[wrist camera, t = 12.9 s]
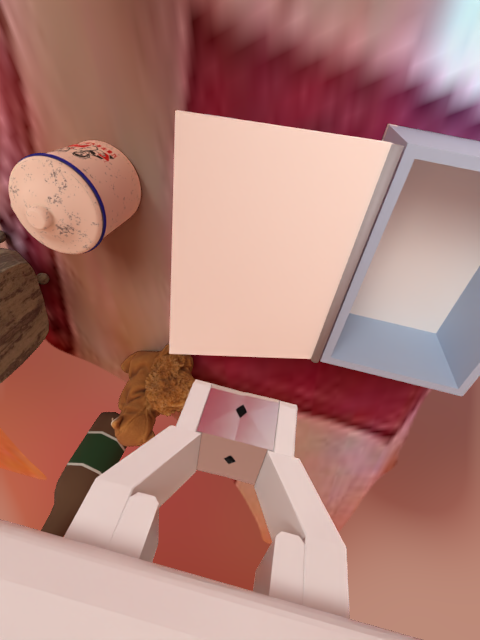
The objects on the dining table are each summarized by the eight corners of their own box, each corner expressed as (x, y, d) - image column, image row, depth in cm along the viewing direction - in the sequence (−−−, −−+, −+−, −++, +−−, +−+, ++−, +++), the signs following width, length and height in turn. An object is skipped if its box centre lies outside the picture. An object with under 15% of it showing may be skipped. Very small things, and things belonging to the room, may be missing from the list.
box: (437, 336, 41) (462, 396, 34) (321, 308, 42) (320, 361, 35) (555, 155, 29) (635, 187, 21) (387, 123, 30) (407, 143, 22)
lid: (168, 357, 32) (169, 347, 33) (319, 362, 34) (316, 353, 35) (174, 113, 20) (175, 109, 21) (406, 147, 22) (397, 142, 23)
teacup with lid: (127, 130, 35) (55, 153, 25) (155, 219, 40) (103, 265, 30) (30, 147, 38) (-66, 174, 28) (67, 228, 43) (-5, 273, 34)
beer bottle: (137, 440, 68) (63, 584, 49) (100, 430, 69) (13, 569, 50) (134, 416, 64) (53, 565, 45) (95, 406, 64) (-3, 548, 45)
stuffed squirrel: (120, 362, 56) (72, 431, 45) (171, 320, 48) (128, 390, 38) (167, 398, 59) (132, 470, 48) (222, 363, 51) (195, 440, 41)
